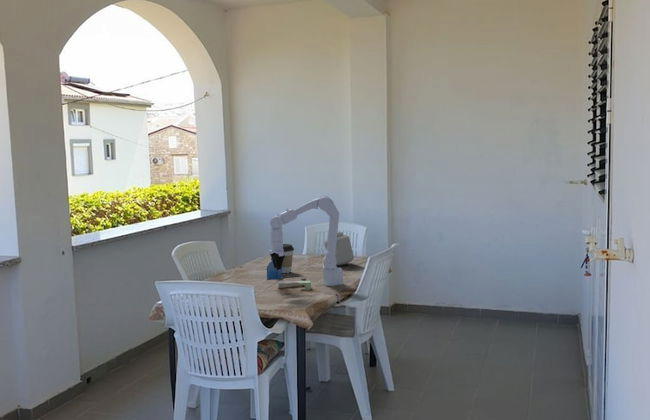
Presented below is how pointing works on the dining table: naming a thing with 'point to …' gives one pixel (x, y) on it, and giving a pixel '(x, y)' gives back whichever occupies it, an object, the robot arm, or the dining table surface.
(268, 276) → the perfume bottle
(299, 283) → the keeper
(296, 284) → the link
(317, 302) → the dining table surface
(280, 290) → the board
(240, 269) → the dining table surface
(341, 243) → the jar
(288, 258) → the coffee cup
